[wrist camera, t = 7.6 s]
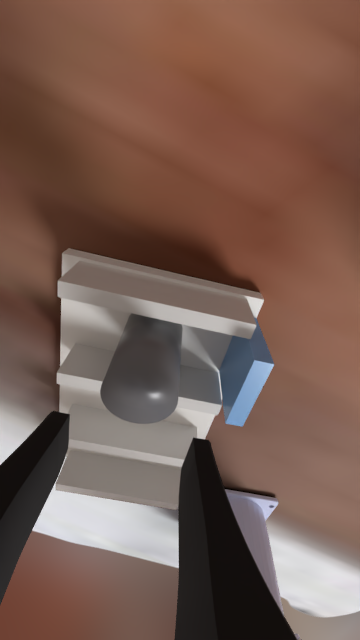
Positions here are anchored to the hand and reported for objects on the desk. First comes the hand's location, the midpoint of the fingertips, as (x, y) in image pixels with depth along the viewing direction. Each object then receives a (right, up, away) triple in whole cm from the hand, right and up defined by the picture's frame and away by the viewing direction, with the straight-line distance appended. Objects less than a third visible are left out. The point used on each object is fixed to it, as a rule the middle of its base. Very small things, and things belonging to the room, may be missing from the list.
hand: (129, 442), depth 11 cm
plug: (0, +4, +7) cm, 8 cm away
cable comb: (-1, 0, +11) cm, 11 cm away
